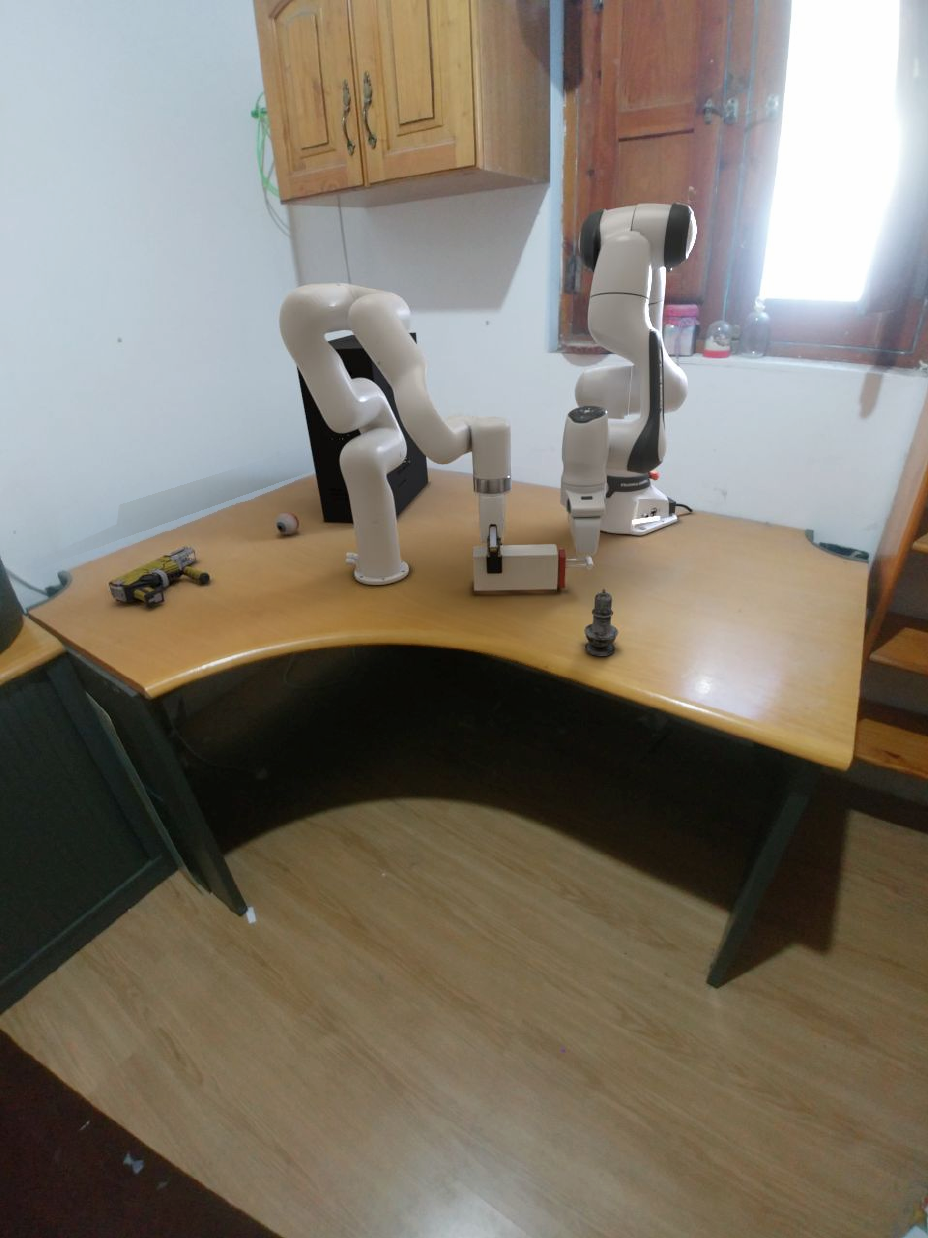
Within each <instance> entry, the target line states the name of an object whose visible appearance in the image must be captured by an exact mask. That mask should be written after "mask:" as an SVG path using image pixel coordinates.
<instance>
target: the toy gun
mask: <svg viewBox="0 0 928 1238" xmlns="http://www.w3.org/2000/svg"><path fill="white" fill-rule="evenodd" d="M192 554H193V556H194V558H193V557H190V555H192ZM196 561H197V556H196V551H195V549H194V548H193V547H188V546H186V545H185V546H183V547H181V548H179V549H177V550H175V551H173V552H170V553H169V554H164V555H162V556H160V557H158V558H156V559H154V560H151V561H150V562H148V563H145V564H144V565H141V566H139V567H137V568H135V569H133V570H130V571H129V572H127V573H125V574H123V575H120V576H118V577H117V578H114V579H112V580H110V581H109V582H108V587H109V589H110V595H111V597H112V599H113V600H115V602H117V603H118V602H119V603H123V602H125V603H131V602H135V601H139V600H140V601H142V602H144V603H145V605H146V608H147V609H150V608H153V607H155V606H157V605H159V604H162V603H164V602H165V597H164V593H163V589H166V588H167V587H169V584H170V582H173V581H175V580H177V579H180V578H181V577H182V576H185V577H187V578H190V579H192V580H195V581H197V582H198V581H199V582H200V583H201V584H207V583H208V582H210V577H211V576H210V573H208V572H205V571H202V570H198V569H196V568H194V567H191V566H189V565H191V564H193V563H195V562H196Z"/></svg>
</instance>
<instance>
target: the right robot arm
mask: <svg viewBox="0 0 928 1238" xmlns="http://www.w3.org/2000/svg"><path fill="white" fill-rule="evenodd" d="M581 224H582V225H581V227H580V231H579V237H578V252H579V257H580V262H581V263H582V265H583V266H584V267H585V269H588V270H589V271H591V272H592V273H593V277H592V281H591V287H590V291H589V292H590V293H589V300H588V301H589V302H588V310H587V328H588V331H589V334H590V336H591V337H592V339H593V340H594V341H595V342H596V343H597V345H598V346H600V347H601V348H603V349H604V350H606V351H608V352H610V353H613V354H615V355H617V356H619V357H622V358H623V359H626V360H627V361H629V362H631V363H632V364H633V365H605V366H604V365H603V366H599V367H598V366H597V367H594V368H590V369H586V370H584V371H583V372H582V373H581V374H580V376H579V377H578V379H577V380H576V384H575V386H574V398H575V402H576V405H577V406H578V407H576V408H573V409H571V410H570V411H568V413H567V414H566V417H565V423H564V428H563V434H562V440H561V441H562V444H561V461H562V473H561V476H560V493H559V494H560V495H559V496H560V497H559V503H560V504H561V505H562V506H563V507H564V508H565V511H566V512H567V523H568V526H569V530H570V534H571V537H572V541H573V544H574V557H575V559H576V560H577V561H578V562H577V563H582V562H581V561H585V558H586V557H591V556H593V557H594V556H595V555H596V553H597V552H598V548H599V541H600V534H601V532H605V533H611V534H623V535H625V534H626V535H632V536H633V535H634V536H645V535H646V534H650V533H652V532H654V531H657V530H660V529H662V528H665V527H668V526H670V525H672V524H675V523H677V522H678V516H677V515H676V507H679V508H680V507H681V508H684V509H686V510H687V511H688V512H690V513H692V512H693V511H694V510H693V509H692V508H691V507H689V506H688V505H687V504H684V503H677V501H676V500H674V499H672V498H670V497H668V496H666V495H665V494H664V493H663V492H661V491H660V490H659V489H658V488H656V487H655V486H654V485H652V483H651V480H653V481H658V479H659V478H660V473H659V472H657V471H654V470H655V469H657V468H658V467H659V466H661V464H663V462H664V458H665V456H666V452H667V434H666V424H665V423H666V422H665V414H669V413H673V412H677V411H678V410H679V409H680V408H681V407H682V406H683V404H684V403H685V401H686V399H687V396H688V392H689V382H688V377H687V375H686V374H685V372H684V370H682V369H681V367H679V366H678V365H677V364H676V363H675V362H674V360H672V358H671V357H670V356H669V354H668V352H667V350H666V347H665V343H664V339H663V316H664V315H663V314H664V305H665V304H664V303H665V293H666V271H667V273H670V272H672V270H673V269H674V268H676V267H679V266H680V265H682V264H683V263H684V262H685V261H686V260H687V259H688V258H689V254H690V253H691V251H692V249H693V246H694V244H695V242H696V235H697V224H696V219H695V214H694V211H693V209H692V208H691V206H690V205H687V204H685V203H678V202H673V203H672V204H668V203H667V204H666V203H637V204H635V205H626V206H621V207H615V208H610V209H606V208H602V209H597V210H595V211H592V212H590V213H588V214H587V216H586V217H585V219H584V220H583V221H582V223H581ZM626 416H639V418H637V419H625V417H626Z"/></svg>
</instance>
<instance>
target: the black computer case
mask: <svg viewBox="0 0 928 1238" xmlns="http://www.w3.org/2000/svg"><path fill="white" fill-rule="evenodd" d="M408 333H409V334H410V336H411V337H412V338H413V340H414V341H415V343H416V344H417V345H418V340H417V332H408ZM326 341H327V342H328V343H329V344H330V345H331V346H332V347H333V348H334V349H335V351H336V352H337V353H338V354H339V356H340V358H341V359H342V361H343V364H344V366H345V368H346V370H347V372H348V374H349V376H350V378H351V379H355V378H366V379H369V380H371V381H372V382H374V383H375V384H376V385H377V386H378V387H379V388H380V389H381V390H382V392H383V393H384V395H385V397H386V399H387V401H388V403H389V405H390V407H391V410H392V412H393V414H394V416H395V418H396V420H397V423H398V425H399V427H400V429H401V431H402V434H403V436H404V439H405V442H406V447H407V453H406V457H405V459H404V461H403V462H402V464H401V465H399V466H398V467H397V468H395V469H394V470H392V471H391V472H389V473H388V474H386V478H387V481H388V483H389V485H390V488H391V490H392V493H393V497H394V504H395V511H396V519H397V518H398V517H399V516H400V515H401V513H403V511H404V510H405V509H406V508H407V507H408V506H409V505H410V503H412V502H413V500H414V499H415V498H416V497H417V496H418V494H420V492H421V491H422V490H423V489H424V488H425V487H426V486H427V485H428V483H429V474H428V472H429V471H428V462H427V461H428V460H427V457H426V456H425V455H424V454H423V452H422V451H421V450H420V449H419V447H418V446H417V445H416V443H415V442H414V441H413V439H412V438H411V437H410V435H409V434H408V432H407V431H406V429H405V427H404V425H403V423H402V421H401V419H400V416H399V413H398V409H397V406H396V403H395V398H394V392H393V389H392V387H391V386H390V384H389V383H388V381H387V380H386V378H385V377H384V376H383V374H382V373H381V371H380V370H379V369H378V367H377V366H376V365H375V363H374V362H373V360H372V359H371V358H370V356H369V355H368V353H367V352H366V351H365V349H364V348H363V347H362V345H361V344H360V342H359V341H358V340H357V338H356V337H355V335H354V334H350V335H346V336H341V337H338V338H335V339H331V340H326ZM295 367H296V372H297V376H298V382H299V387H300V393H301V400H302V404H303V410H304V411H303V412H304V416H305V421H306V427H307V428H306V429H307V434H308V438H309V444H310V449H311V450H310V451H311V456H312V462H313V466H314V472H315V478H316V483H317V490H318V495H319V496H318V497H319V501H320V506H321V512H322V513H321V514H322V518H323V521H324V522H329V523H330V522H331V523H354V522H353V516H352V511H351V504H350V499H349V494H348V489H347V486H346V483H345V480H344V477H343V474H342V471H341V467H340V455H341V452H342V449H343V448H344V446H345V445H346V444H347V443H348V442H349V441H350V440H352V439H354V438H355V437H357V436H360V435H361V433H360V431H359V429H356V430H354V431H351V432H348V433H337V432H334V431H333V430H332V429H331V428H330V427H329V426H328V425H327V423H326V422H325V420H324V418H323V416H322V414H321V412H320V410H319V408H318V406H317V404H316V402H315V400H314V398H313V396H312V394H311V392H310V390H309V388H308V386H307V384H306V382H305V380H304V378H303V376H302V374H301V372H300V370H299V368H298V367H297V365H296V364H295Z"/></svg>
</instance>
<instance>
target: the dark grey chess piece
mask: <svg viewBox="0 0 928 1238" xmlns="http://www.w3.org/2000/svg"><path fill="white" fill-rule="evenodd" d="M612 604H613V597H612V595H611V593H609V592H607V590H606V589H605V588H603V589H602V590H601V592H598V593H597V594H595V595H594V604H593V605H594V606H593V607H594V608H593V609H592V610H591V615H592V623H589V624H588V625H586V626H585V627H584V629H583V632H584V635H585V638H586V640H587V641H588V642H586V643H585V645H584V650H585V651H586V652H587V653H589V654H590V655H592V656H597V657H606V656H610V655H612V654H614V653H615V649H616V647H615V645H614V644H613V643H614V642H615V640H616V639H617V637H618V635H619V630H618V629H617V627H616V626H614V625H613V624H612V622H611V621H612V616H613V615H614V611H613V610H612Z"/></svg>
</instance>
